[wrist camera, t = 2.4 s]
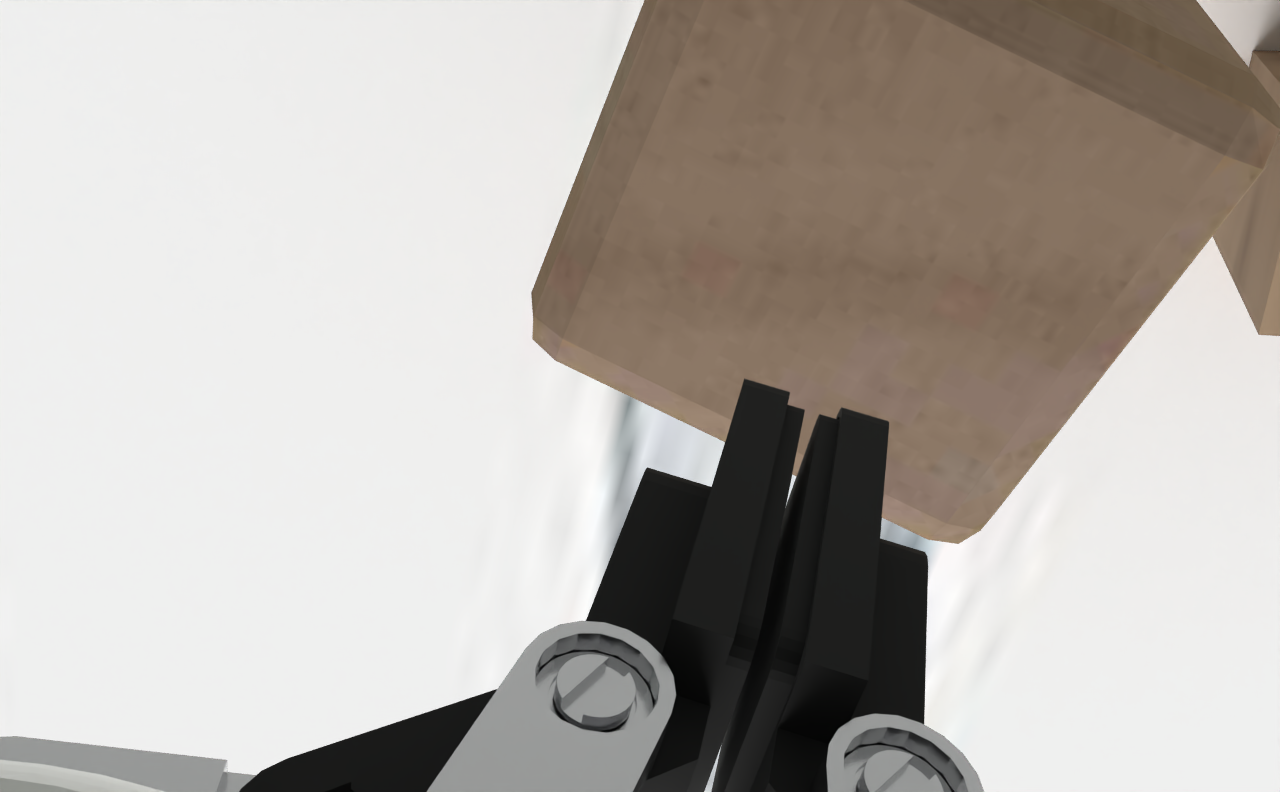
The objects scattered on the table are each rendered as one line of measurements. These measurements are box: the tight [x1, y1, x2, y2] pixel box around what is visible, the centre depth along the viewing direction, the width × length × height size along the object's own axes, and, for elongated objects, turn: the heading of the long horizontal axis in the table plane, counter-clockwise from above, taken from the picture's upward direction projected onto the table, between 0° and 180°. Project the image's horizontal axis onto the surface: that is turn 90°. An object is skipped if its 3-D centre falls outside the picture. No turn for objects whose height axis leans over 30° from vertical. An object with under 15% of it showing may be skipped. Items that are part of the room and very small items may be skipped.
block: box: [531, 0, 1280, 544], centre depth 27 cm, size 10×10×20 cm
